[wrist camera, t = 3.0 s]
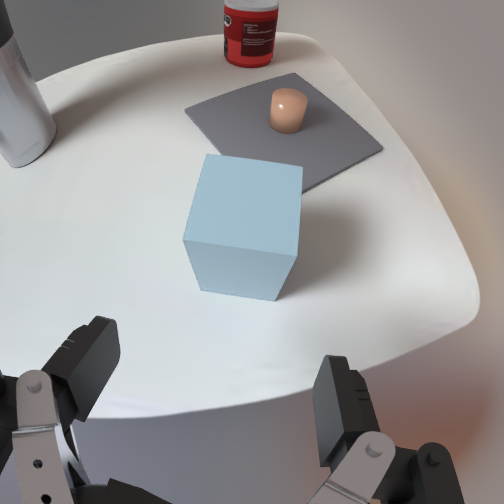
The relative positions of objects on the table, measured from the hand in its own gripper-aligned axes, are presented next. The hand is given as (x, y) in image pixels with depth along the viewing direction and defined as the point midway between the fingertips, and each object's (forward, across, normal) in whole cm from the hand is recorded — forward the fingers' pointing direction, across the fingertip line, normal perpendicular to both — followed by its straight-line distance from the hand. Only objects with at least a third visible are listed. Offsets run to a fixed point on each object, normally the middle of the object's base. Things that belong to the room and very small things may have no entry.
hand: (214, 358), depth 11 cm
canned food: (+41, +4, -22) cm, 47 cm away
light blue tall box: (+16, 0, +3) cm, 17 cm away
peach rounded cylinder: (+29, -2, -10) cm, 31 cm away
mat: (+29, -2, -10) cm, 31 cm away
